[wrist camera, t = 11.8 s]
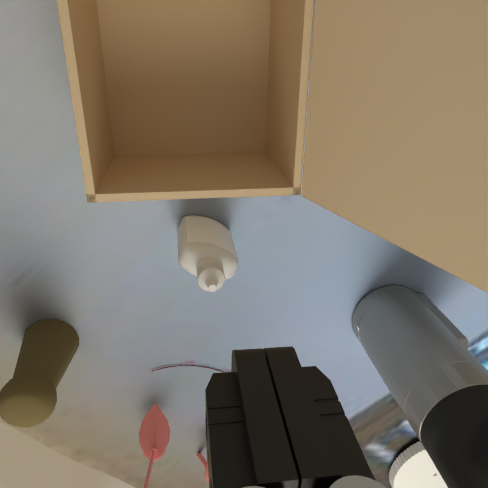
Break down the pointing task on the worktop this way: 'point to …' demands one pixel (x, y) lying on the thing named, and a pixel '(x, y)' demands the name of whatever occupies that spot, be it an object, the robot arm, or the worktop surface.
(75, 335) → the cork
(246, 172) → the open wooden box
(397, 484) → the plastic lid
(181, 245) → the eye dropper bottle
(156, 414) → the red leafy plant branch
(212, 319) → the worktop surface
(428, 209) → the lid flap
